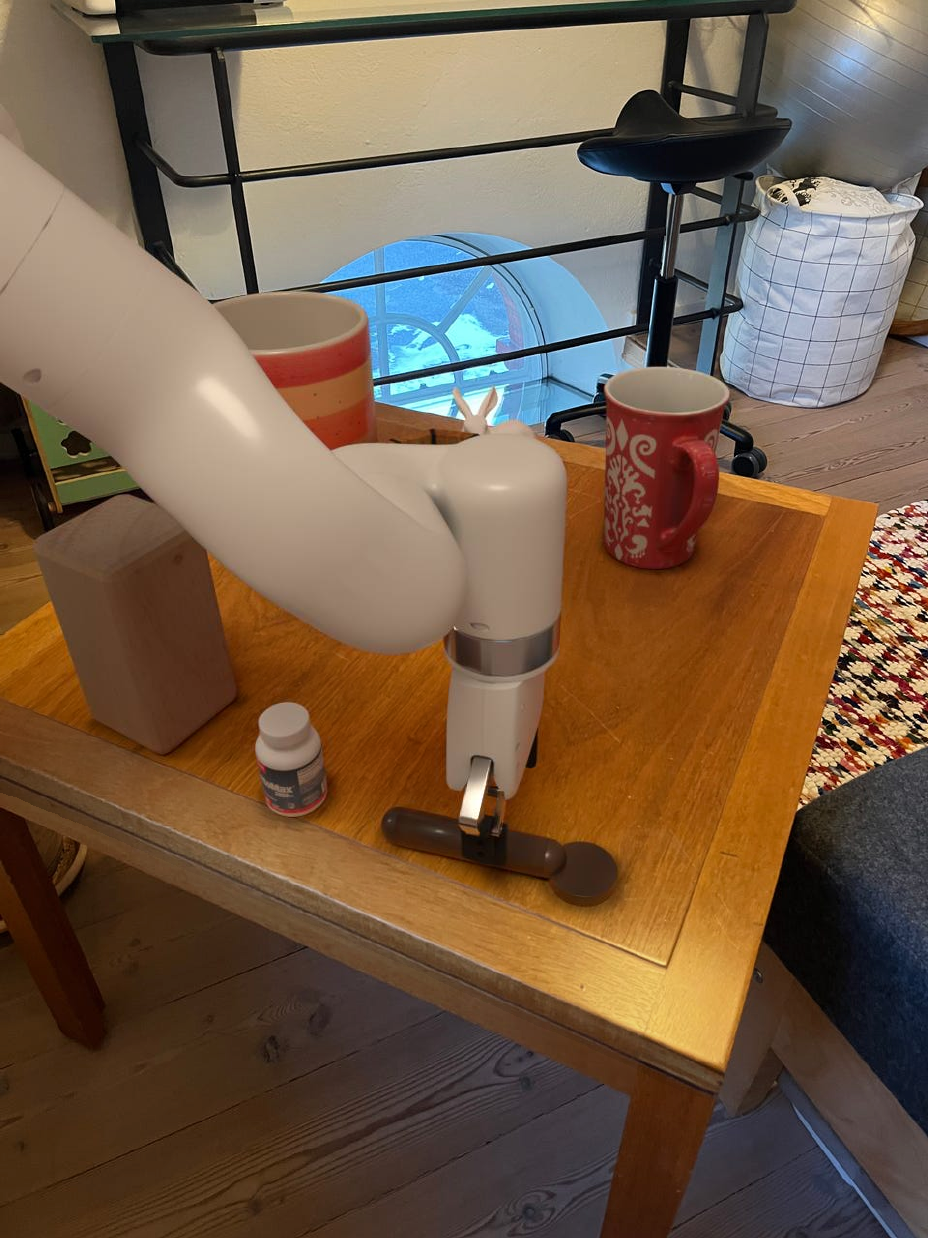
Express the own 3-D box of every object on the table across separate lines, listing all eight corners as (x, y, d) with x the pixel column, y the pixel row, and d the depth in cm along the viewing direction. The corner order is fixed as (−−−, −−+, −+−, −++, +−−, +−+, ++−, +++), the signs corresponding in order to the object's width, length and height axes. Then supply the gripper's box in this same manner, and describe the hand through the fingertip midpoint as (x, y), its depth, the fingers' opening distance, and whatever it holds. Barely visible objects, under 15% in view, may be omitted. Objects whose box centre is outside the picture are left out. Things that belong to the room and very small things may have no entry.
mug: (577, 523, 113) (588, 370, 101) (678, 512, 115) (701, 360, 103) (626, 609, 98) (646, 442, 86) (741, 595, 100) (776, 429, 88)
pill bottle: (252, 799, 77) (235, 722, 72) (296, 763, 80) (283, 687, 75) (296, 829, 75) (282, 751, 69) (340, 790, 78) (330, 713, 73)
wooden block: (242, 698, 87) (204, 517, 75) (163, 762, 81) (108, 575, 69) (169, 663, 92) (122, 486, 80) (88, 721, 85) (24, 538, 73)
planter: (343, 601, 100) (316, 363, 84) (188, 568, 106) (135, 339, 90) (413, 514, 115) (402, 298, 99) (274, 489, 121) (242, 281, 105)
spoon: (371, 859, 72) (368, 833, 70) (393, 810, 76) (391, 785, 74) (610, 913, 68) (614, 888, 66) (620, 859, 72) (624, 833, 70)
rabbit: (474, 499, 118) (474, 412, 111) (442, 469, 124) (439, 385, 117) (554, 478, 122) (559, 393, 115) (519, 450, 129) (521, 368, 122)
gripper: (479, 549, 66) (483, 722, 76) (401, 707, 52) (417, 891, 63) (583, 562, 64) (572, 738, 74) (528, 730, 51) (524, 915, 61)
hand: (501, 808), depth 68 cm, fingers open, 9 cm apart
